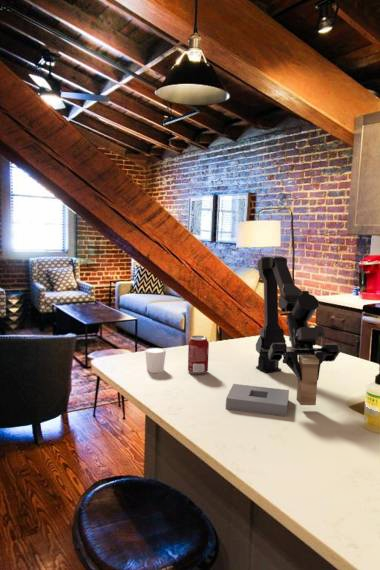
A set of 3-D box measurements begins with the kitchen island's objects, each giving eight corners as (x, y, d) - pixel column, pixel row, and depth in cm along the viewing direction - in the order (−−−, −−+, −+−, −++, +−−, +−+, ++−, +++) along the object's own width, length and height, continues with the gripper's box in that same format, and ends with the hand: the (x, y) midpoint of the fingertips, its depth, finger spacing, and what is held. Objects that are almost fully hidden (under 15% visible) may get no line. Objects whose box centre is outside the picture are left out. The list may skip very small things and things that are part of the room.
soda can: (205, 376, 149) (207, 340, 148) (185, 374, 151) (186, 339, 149) (209, 370, 156) (210, 335, 154) (189, 368, 157) (190, 334, 156)
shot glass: (168, 368, 156) (168, 348, 155) (160, 374, 150) (161, 353, 149) (150, 366, 158) (150, 346, 157) (141, 371, 152) (141, 351, 151)
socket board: (233, 393, 134) (233, 383, 134) (288, 400, 130) (288, 390, 130) (225, 408, 123) (226, 398, 122) (286, 416, 119) (286, 405, 118)
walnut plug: (295, 399, 125) (298, 355, 123) (310, 399, 125) (313, 355, 124) (300, 405, 121) (303, 359, 119) (316, 405, 121) (319, 359, 119)
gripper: (272, 313, 123) (281, 365, 114) (340, 315, 125) (353, 366, 115) (264, 335, 132) (272, 385, 123) (327, 336, 133) (339, 385, 124)
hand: (309, 380), depth 121 cm, fingers closed on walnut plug, 4 cm apart
